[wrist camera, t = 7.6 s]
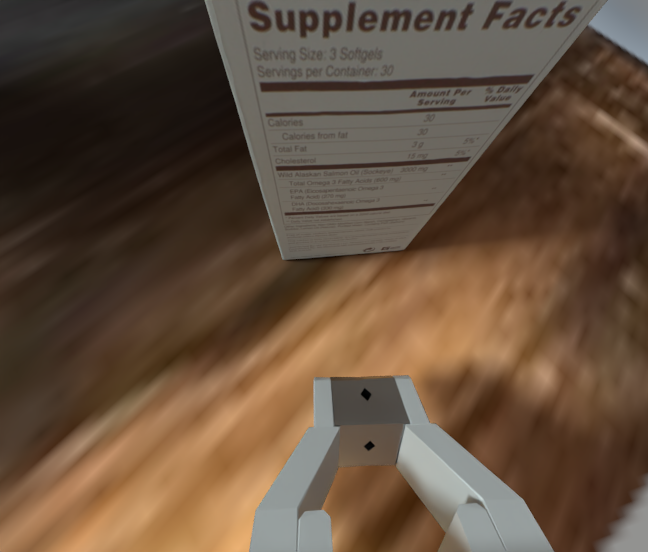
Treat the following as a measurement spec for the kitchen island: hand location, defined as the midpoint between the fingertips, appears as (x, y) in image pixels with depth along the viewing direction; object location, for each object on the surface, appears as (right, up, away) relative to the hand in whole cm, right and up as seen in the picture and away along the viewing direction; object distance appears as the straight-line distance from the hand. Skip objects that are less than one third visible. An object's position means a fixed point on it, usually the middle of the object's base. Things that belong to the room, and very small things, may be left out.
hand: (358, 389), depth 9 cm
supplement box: (0, +8, +8) cm, 11 cm away
